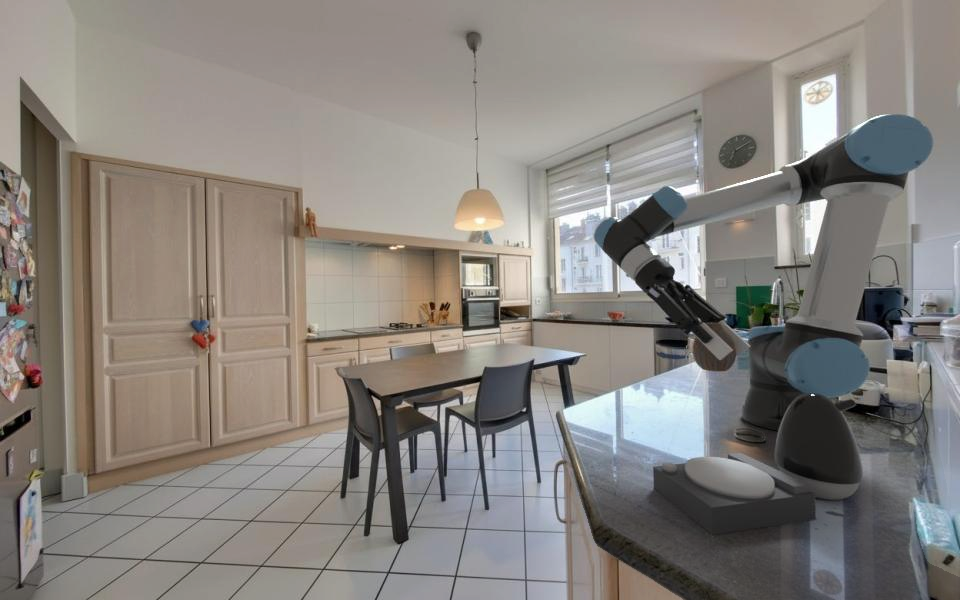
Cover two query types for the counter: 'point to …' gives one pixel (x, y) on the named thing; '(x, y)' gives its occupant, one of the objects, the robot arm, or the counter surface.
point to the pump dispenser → (819, 446)
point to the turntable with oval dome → (734, 493)
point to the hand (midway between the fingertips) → (735, 352)
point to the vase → (707, 358)
